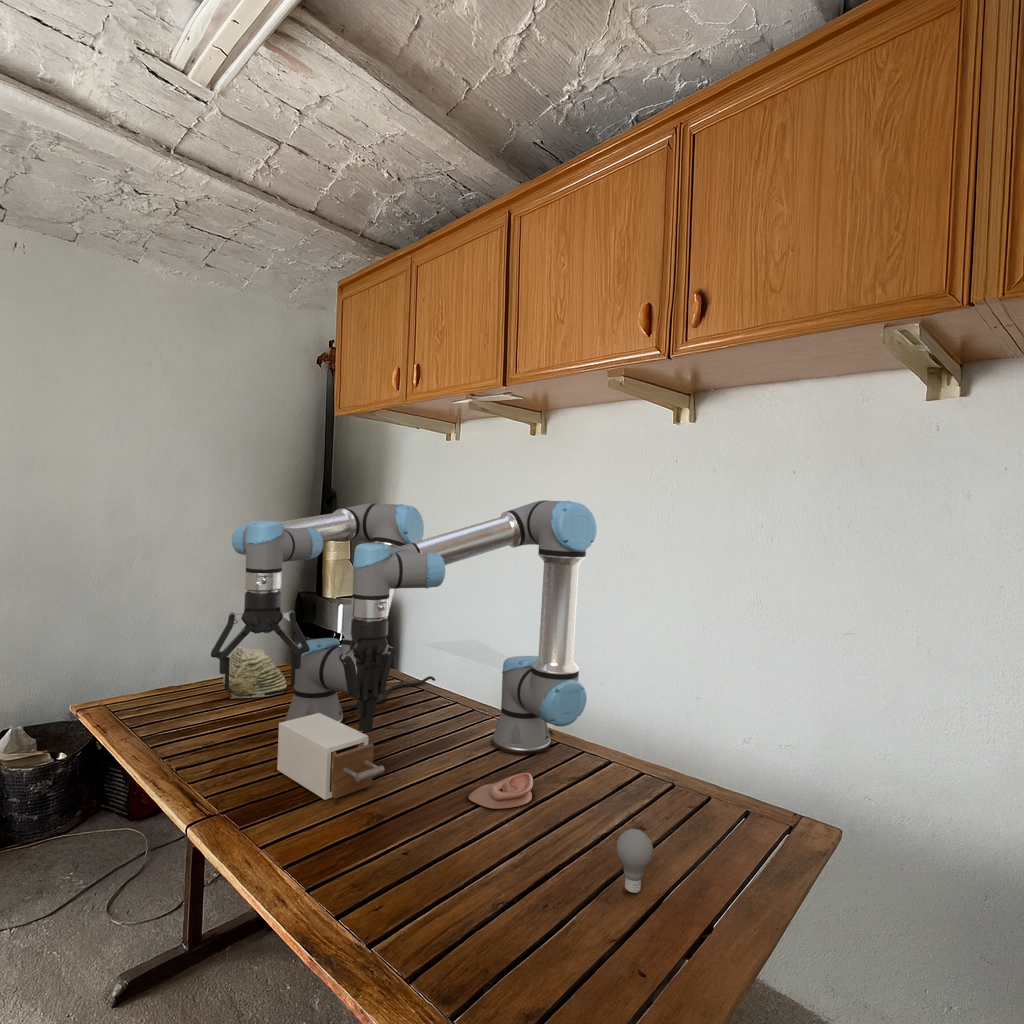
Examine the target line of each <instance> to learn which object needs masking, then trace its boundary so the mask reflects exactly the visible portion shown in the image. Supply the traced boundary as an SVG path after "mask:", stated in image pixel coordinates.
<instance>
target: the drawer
mask: <svg viewBox="0 0 1024 1024" xmlns="http://www.w3.org/2000/svg"><path fill="white" fill-rule="evenodd" d="M374 751H375V745H374V744H372V743H368V745H364V746H362V744H361V743H360V744H356V745H353V746H350V747H347V748H343V749H340V750H337V751H334V752H331V770H330V790H332V798H333V799H334V800H336V799H339V798H342V797H344V796H346V795H350V794H352V793H354V792H357V791H360V790H363V789H365V788H368V787H371V786H373V777H376V776H379V775H382V774H384V773H385V772H386V771H385V770H386V769H385V766H384V765H383V764H381V765H376V764H374V754H375V753H374Z"/></svg>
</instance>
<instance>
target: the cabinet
mask: <svg viewBox="0 0 1024 1024" xmlns="http://www.w3.org/2000/svg"><path fill="white" fill-rule="evenodd" d="M277 737H278V739H277V742H278V743H277V762H276V763H277V767H276V769H277V771H278V772H280V773H281V774H283V775H285V776H286V777H288V778H289V779H291V780H292V781H294V782H296V783H297V784H299V785H300V786H302V787H304V788H305V789H307V790H308V791H310V792H312V793H313V794H315V795H316V796H318V797H319V798H321V799H323V800H324V801H326V800H328V799H331V798H333V797H332V790H330V770H331V752H334V751H337V750H340V749H343V748H347V747H350V746H353V745H356V744H360V743H361V744H362V746H364V745H368V744H369V735H367V734H366V733H364V732H362V731H360V730H357V729H354V728H353V727H351V726H348V725H346V724H345V723H343V722H342V723H340V722H338V721H336V720H334V719H331V718H329V717H327V716H325V715H323V714H321V713H317V714H313V715H309V716H305V717H301V718H297V719H293V720H289V721H286V720H285V721H281V722H279V723H278V735H277Z"/></svg>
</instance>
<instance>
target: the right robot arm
mask: <svg viewBox="0 0 1024 1024" xmlns="http://www.w3.org/2000/svg"><path fill="white" fill-rule="evenodd" d="M597 528H598V527H597V520H596V519H595V516H594V514H593V512H592V511H590V509H589V508H588V507H587V506H586V505H585V504H582V503H580V502H576V501H570V500H547V499H546V500H543V499H542V500H537V501H533V502H531V503H527V504H525V505H522V506H521V505H520V506H519V507H516V508H512V509H509V510H506V511H503V512H502V513H501V515H500V517H496V518H493V519H490V520H486V521H483V522H478V523H475V524H472V525H468V526H465V527H462V528H458V529H455V530H451V531H447V532H444V533H442V534H437V535H435V536H431V537H428V538H424V539H422V540H420V541H417V542H413V543H411V544H407V545H403V546H400V547H395V546H391V547H390V545H388V544H376V543H370V542H365V543H364V542H363V543H360V544H357V545H356V546H355V548H354V554H353V564H352V596H351V597H352V598H351V617H353V618H352V619H351V621H350V633H351V637H352V643H351V645H350V650H349V651H348V652H347V653H346V654H345V655H344V654H341V655H340V656H339V659H340V661H341V662H342V664H343V667H344V673H345V678H346V684H347V689H348V693H347V695H348V698H349V699H352V700H354V701H356V704H357V707H356V715H357V716H358V717H359V718H358V731H360V732H362V733H364V734H368V733H371V732H372V733H373V726H374V725H373V724H374V714H376V711H377V704H376V700H379V699H380V698H381V695H383V694H384V692H385V691H386V690H387V689H386V688H387V684H388V680H389V676H390V671H391V666H392V662H393V658H394V656H395V654H396V653H397V648H395V647H393V646H390V645H389V644H388V640H387V636H388V635H389V619H388V617H389V613H390V610H389V591H390V589H395V590H398V589H425V590H426V589H427V590H428V589H429V588H438V587H440V586H441V585H443V583H444V582H445V581H444V580H445V577H446V566H447V565H451V564H454V563H458V562H460V561H465V560H467V559H470V558H473V557H476V556H480V555H482V554H486V553H489V552H492V551H496V550H498V549H502V548H505V547H508V546H509V547H510V548H514V549H515V548H518V547H522V546H528V545H530V546H532V545H533V546H534V545H535V546H538V553H537V554H538V556H539V558H541V560H542V561H543V574H542V575H543V576H542V589H541V590H542V591H541V605H540V606H541V607H540V626H539V640H538V641H539V643H538V655H517V656H515V655H514V656H510V657H508V658H506V659H505V660H504V661H503V665H502V671H501V674H502V677H501V678H502V679H501V703H500V704H501V705H500V715H499V718H498V720H497V722H496V726H495V728H494V731H493V735H492V745H493V746H494V747H495V748H496V749H498V750H500V751H502V752H504V753H509V754H514V755H524V756H526V755H527V756H528V755H536V754H541V753H544V752H546V751H547V750H549V749H550V747H551V740H552V739H551V734H553V730H552V729H549V727H548V724H550V725H553V726H554V727H566V726H570V725H571V724H574V723H575V721H577V719H578V718H579V717H580V716H581V715H582V714H583V712H584V710H585V708H586V705H587V700H588V695H587V691H586V688H585V687H584V685H583V684H582V683H581V682H579V675H580V668H579V666H578V665H577V663H576V662H575V661H574V654H575V638H576V619H577V603H578V602H577V601H578V586H579V585H578V584H579V572H580V571H579V570H580V564H581V563H582V561H584V560H585V559H586V555H587V549H589V548H591V546H592V543H594V542H595V540H596V537H597V530H598V529H597ZM388 612H389V613H388ZM387 616H388V617H387ZM385 617H387V619H386V618H385ZM354 657H355V659H356V666H357V674H356V668H355V664H354V661H355V659H354Z"/></svg>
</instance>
